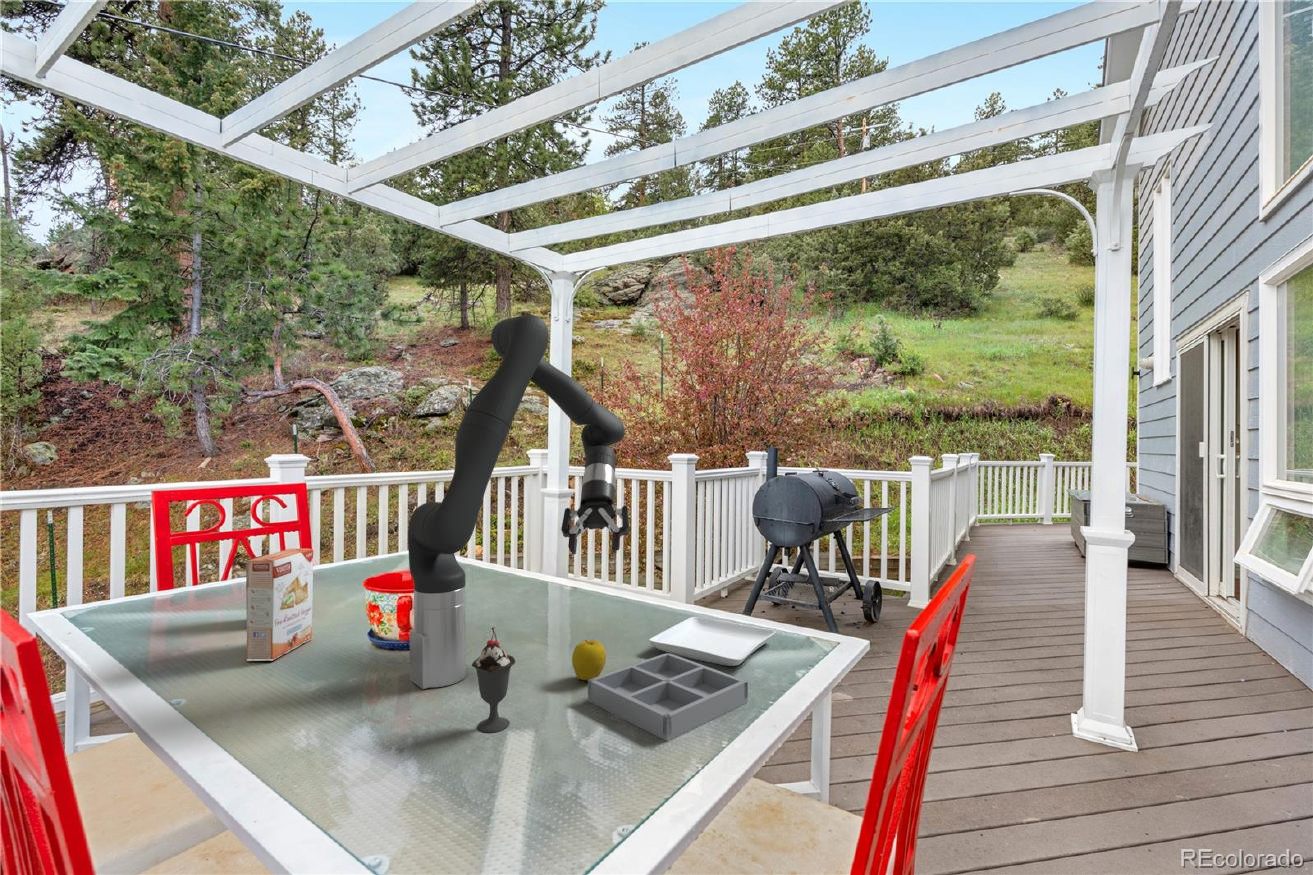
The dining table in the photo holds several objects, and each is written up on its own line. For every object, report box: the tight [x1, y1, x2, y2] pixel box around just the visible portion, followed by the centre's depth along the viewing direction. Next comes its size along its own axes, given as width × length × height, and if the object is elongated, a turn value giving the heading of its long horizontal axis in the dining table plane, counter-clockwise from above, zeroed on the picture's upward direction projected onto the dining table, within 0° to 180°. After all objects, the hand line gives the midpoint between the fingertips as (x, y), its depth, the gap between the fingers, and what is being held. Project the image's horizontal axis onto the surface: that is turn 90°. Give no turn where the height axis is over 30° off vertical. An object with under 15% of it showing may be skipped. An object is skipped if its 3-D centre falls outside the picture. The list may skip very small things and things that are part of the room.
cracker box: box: [246, 548, 314, 660], centre depth 130 cm, size 14×6×21 cm, turn 179°
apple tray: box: [587, 652, 749, 742], centre depth 105 cm, size 20×20×4 cm
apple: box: [571, 639, 607, 681], centre depth 115 cm, size 6×6×8 cm
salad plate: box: [648, 616, 776, 667], centre depth 132 cm, size 21×21×3 cm
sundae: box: [471, 626, 516, 734], centre depth 97 cm, size 7×7×15 cm
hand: (593, 551), depth 126 cm, fingers open, 8 cm apart
